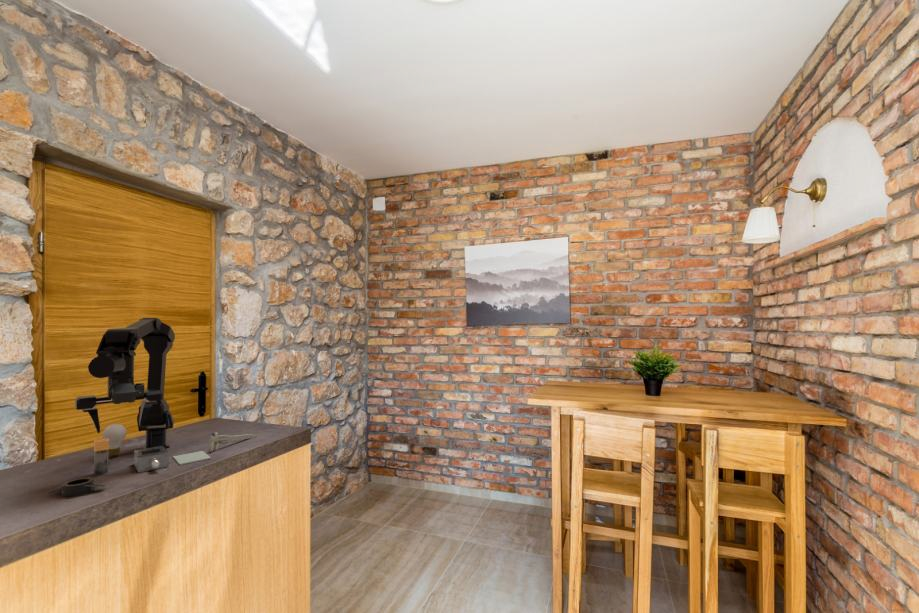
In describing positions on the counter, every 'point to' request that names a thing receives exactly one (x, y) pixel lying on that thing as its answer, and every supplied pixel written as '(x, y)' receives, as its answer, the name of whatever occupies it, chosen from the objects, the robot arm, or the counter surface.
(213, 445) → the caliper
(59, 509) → the counter surface
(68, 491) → the dark flanged ring
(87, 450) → the counter surface
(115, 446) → the light bulb
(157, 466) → the block
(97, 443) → the orange capped vial
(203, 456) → the rubber mat
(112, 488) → the counter surface
